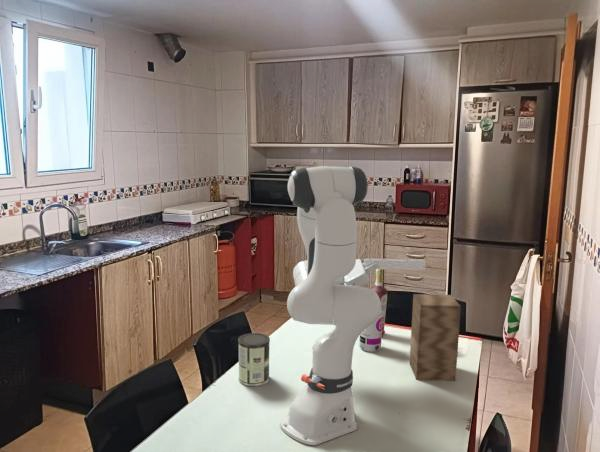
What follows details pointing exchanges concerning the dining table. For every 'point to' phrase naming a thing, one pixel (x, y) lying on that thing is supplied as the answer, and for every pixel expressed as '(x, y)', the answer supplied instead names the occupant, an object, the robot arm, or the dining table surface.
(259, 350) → the coffee can
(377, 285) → the liquor
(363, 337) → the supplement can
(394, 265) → the aluminium bar
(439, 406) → the dining table surface
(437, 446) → the dining table surface
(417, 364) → the walnut stand
